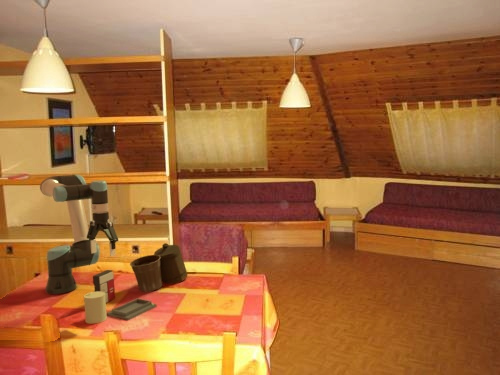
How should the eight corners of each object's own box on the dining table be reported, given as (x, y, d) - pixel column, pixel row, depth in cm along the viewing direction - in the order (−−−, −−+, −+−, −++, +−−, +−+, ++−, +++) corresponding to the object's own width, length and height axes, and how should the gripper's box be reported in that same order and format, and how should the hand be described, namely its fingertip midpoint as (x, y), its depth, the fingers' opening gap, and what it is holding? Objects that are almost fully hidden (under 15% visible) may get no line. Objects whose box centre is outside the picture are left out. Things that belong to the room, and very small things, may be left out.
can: (88, 316, 191) (87, 290, 190) (109, 314, 192) (107, 289, 191) (82, 324, 182) (80, 297, 181) (104, 323, 183) (102, 296, 182)
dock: (106, 314, 192) (106, 309, 192) (135, 301, 207) (135, 297, 207) (128, 320, 185) (127, 314, 185) (156, 306, 200) (156, 301, 200)
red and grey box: (101, 306, 203) (99, 276, 202) (94, 305, 204) (92, 275, 203) (116, 298, 213) (114, 270, 212) (109, 298, 215) (107, 269, 213)
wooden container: (188, 270, 245) (178, 236, 239) (186, 281, 230) (176, 245, 225) (163, 276, 244) (153, 242, 239) (160, 288, 230) (149, 252, 225)
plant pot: (131, 296, 218) (125, 267, 215) (140, 284, 234) (134, 257, 231) (162, 292, 217) (156, 263, 215) (168, 280, 233) (163, 253, 230)
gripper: (77, 211, 208) (80, 253, 210) (112, 214, 195) (114, 258, 197) (89, 209, 214) (92, 250, 216) (124, 212, 202) (126, 255, 204)
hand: (103, 254), depth 207 cm, fingers open, 13 cm apart
